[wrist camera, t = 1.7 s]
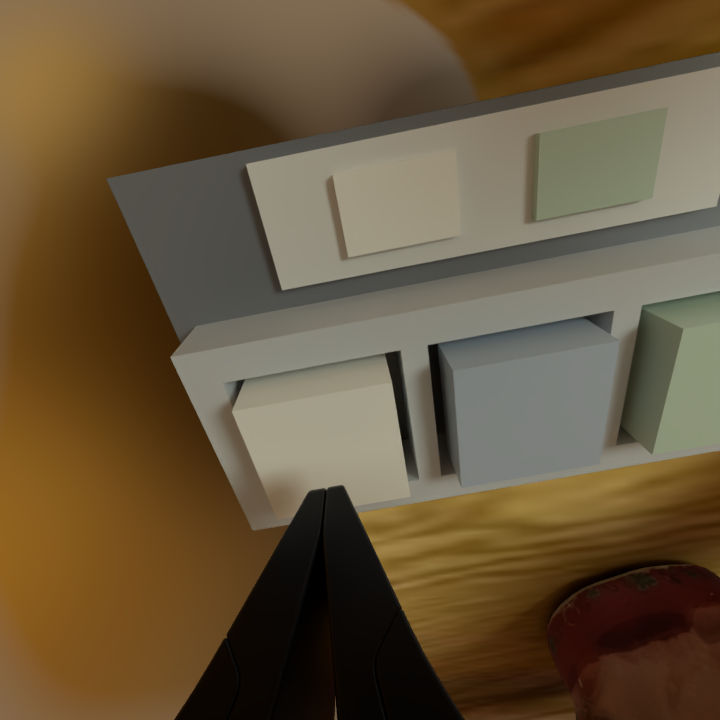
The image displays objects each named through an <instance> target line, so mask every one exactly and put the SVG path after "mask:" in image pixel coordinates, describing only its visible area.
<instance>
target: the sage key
mask: <svg viewBox="0 0 720 720" xmlns="http://www.w3.org/2000/svg"><path fill="white" fill-rule="evenodd" d="M620 425H621V426H622V427H623V428H624V429H625V430H626V431H627V432H628V433H629V434H630V435H631V436H632V437H634V438H635V439H636V440H637V441H638V442H639V443H640V444H641V445H642V446H643V447H644V448H645V449H646V450H647V451H648V452H649V453H651V454H652V455H656V454H661V453H667V452H673V451H679V450H685V449H690V448H696V447H702V446H708V445H714V444H719V443H720V291H716V292H711V293H706V294H700V295H695V296H689V297H684V298H679V299H673V300H668V301H663V302H657V303H652V304H646V305H642V309H641V314H640V320H639V325H638V330H637V336H636V341H635V346H634V352H633V357H632V363H631V368H630V373H629V379H628V384H627V389H626V395H625V400H624V406H623V411H622V416H621V422H620Z"/></svg>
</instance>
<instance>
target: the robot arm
mask: <svg viewBox="0 0 720 720" xmlns="http://www.w3.org/2000/svg"><path fill="white" fill-rule="evenodd" d="M335 696H336V708H337V720H465V719H464V718H463V716H462V715H461V713H460V711H459V710H458V708H457V707H456V705H455V703H454V702H453V700H452V699H451V697H450V696H449V694H448V692H447V691H446V689H445V688H444V686H443V684H442V683H441V681H440V679H439V678H438V676H437V674H436V673H435V671H434V669H433V667H432V666H431V664H430V662H429V661H428V659H427V657H426V656H425V654H424V652H423V650H422V648H421V646H420V644H419V642H418V640H417V638H416V636H415V634H414V632H413V630H412V628H411V626H410V624H409V622H408V620H407V617H406V615H405V613H404V611H403V610H402V608H401V605H400V603H399V601H398V599H397V597H396V595H395V592H394V590H393V588H392V586H391V584H390V582H389V580H388V578H387V575H386V573H385V571H384V569H383V567H382V565H381V563H380V561H379V558H378V556H377V554H376V552H375V550H374V548H373V546H372V544H371V542H370V539H369V537H368V535H367V533H366V531H365V529H364V527H363V525H362V522H361V520H360V518H359V516H358V514H357V512H356V510H355V508H354V505H353V503H352V501H351V499H350V497H349V495H348V493H347V491H346V489H345V487H344V486H343V485H338V486H332V487H328V488H327V489H325V488H321V489H315V490H310V491H309V492H308V493H307V495H306V497H305V498H304V500H303V502H302V504H301V505H300V507H299V509H298V511H297V512H296V514H295V516H294V518H293V519H292V521H291V523H290V525H289V526H288V528H287V530H286V532H285V533H284V535H283V537H282V539H281V540H280V542H279V544H278V546H277V547H276V549H275V551H274V553H273V554H272V556H271V558H270V560H269V561H268V563H267V565H266V566H265V568H264V570H263V572H262V573H261V575H260V577H259V579H258V580H257V582H256V584H255V586H254V587H253V589H252V591H251V593H250V595H249V596H248V598H247V600H246V601H245V603H244V605H243V607H242V609H241V610H240V612H239V614H238V615H237V617H236V619H235V621H234V622H233V624H232V626H231V628H230V629H229V631H228V633H227V638H225V639H224V640H223V641H222V643H221V645H220V647H219V648H218V650H217V652H216V654H215V655H214V657H213V659H212V660H211V662H210V664H209V665H208V667H207V669H206V670H205V672H204V674H203V676H202V677H201V679H200V680H199V682H198V684H197V685H196V687H195V689H194V690H193V692H192V693H191V695H190V696H189V698H188V699H187V701H186V703H185V704H184V706H183V707H182V709H181V710H180V712H179V713H178V715H177V716H176V718H175V719H174V720H334V715H335Z"/></svg>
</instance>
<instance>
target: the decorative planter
mask: <svg viewBox="0 0 720 720" xmlns="http://www.w3.org/2000/svg"><path fill="white" fill-rule="evenodd" d="M547 639H548V645H549V649H550V652H551V655H552V657H553V660H554V662H555V665H556V667H557V669H558V671H559V673H560V675H561V677H562V679H563V681H564V683H565V685H566V687H567V688H568V690H569V692H570V694H571V697H572V700H573V702H574V707H575V713H576V720H720V578H719V577H718V576H717V575H716V574H714V573H713V572H711V571H709V570H708V569H706V568H704V567H700V566H697V565H691V564H680V565H677V564H676V565H663V566H653V567H645V568H641V569H637V570H633V571H629V572H627V573H624V574H621V575H618V576H615V577H612V578H609V579H605V580H602V581H599V582H596V583H594V584H591V585H589V586H587V587H585V588H583V589H581V590H579V591H577V592H576V593H574V594H573V595H571V596H570V597H569V598H568V599H566V600H565V601H564V602H563V603H562V604H561V605H560V606H559V607H558V608H557V610H556V611H555V612H554V613H553V615H552V617H551V620H550V623H549V625H548V628H547Z"/></svg>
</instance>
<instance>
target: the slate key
mask: <svg viewBox="0 0 720 720" xmlns="http://www.w3.org/2000/svg"><path fill="white" fill-rule="evenodd" d="M619 343H620V340H618V339H616V338H615V337H613V336H612V335H610V334H609V333H607V332H606V331H604V330H603V329H601V328H599V327H598V326H596V325H595V324H593V323H592V322H590V321H589V320H587V319H586V318H584V317H583V316H582V317H576V318H571V319H566V320H560V321H555V322H550V323H544V324H539V325H533V326H528V327H523V328H517V329H512V330H507V331H501V332H496V333H490V334H485V335H480V336H474V337H469V338H463V339H458V340H453V341H447V342H442V343H438V354H439V365H440V376H441V387H442V398H443V409H444V420H445V431H446V442H447V451H448V454H449V456H450V459H451V462H452V464H453V467H454V469H455V472H456V475H457V477H458V480H459V483H460V485H461V488H464V487H470V486H476V485H482V484H487V483H493V482H499V481H505V480H511V479H516V478H522V477H528V476H534V475H540V474H545V473H551V472H557V471H563V470H569V469H574V468H580V467H586V466H592V465H598V464H600V458H601V452H602V446H603V440H604V434H605V428H606V422H607V416H608V410H609V404H610V397H611V391H612V385H613V379H614V373H615V367H616V361H617V355H618V349H619Z"/></svg>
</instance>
